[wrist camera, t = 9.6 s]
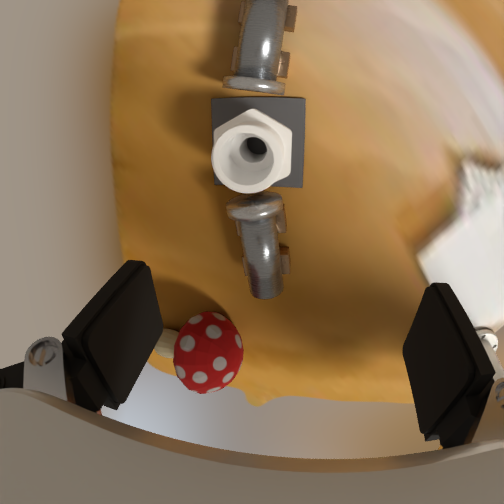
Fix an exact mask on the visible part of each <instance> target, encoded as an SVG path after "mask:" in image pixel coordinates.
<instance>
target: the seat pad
mask: <svg viewBox="0 0 504 504" xmlns="http://www.w3.org/2000/svg"><path fill="white" fill-rule="evenodd" d="M305 101H306V99H301V98H275V97H243V98H216V99H211V106H212V138H213V146H214V131H215V129H216V128H218V127H220V126H221V125H223V124H225V123H226V122H228V121H230V120H232V119H233V118H235V117H237V116H239V115H240V114H242V113H244V112H246V111H248V110H250V109H257V110H259V111H261V112H262V113H264V114H266V115H268V116H269V117H271V118H273V119H274V120H276V121H278V122H279V123H281V124H283V125H284V126H286V127H288V128H289V129H290V130H291V131H292V149H291V172H290V174H289V175H288V176H287V177H285V178H283V179H281V180H278V181H276V182H274V183H273V184H272V185H271V186H277V187H296V188H302V186H303V166H304V140H305ZM247 147H248V149H249V150H250V151H251V152H252V153H254V154H264V153H265V152H267V147H266V145H265V143H264V142H263V141H262V140H261V139H259V138H257V137H249V138H248V139H247ZM214 183H215V185H224V184H223V183H222V182H221V181H220V180H219V179H218V177H217V176H216V174H215V172H214Z"/></svg>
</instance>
